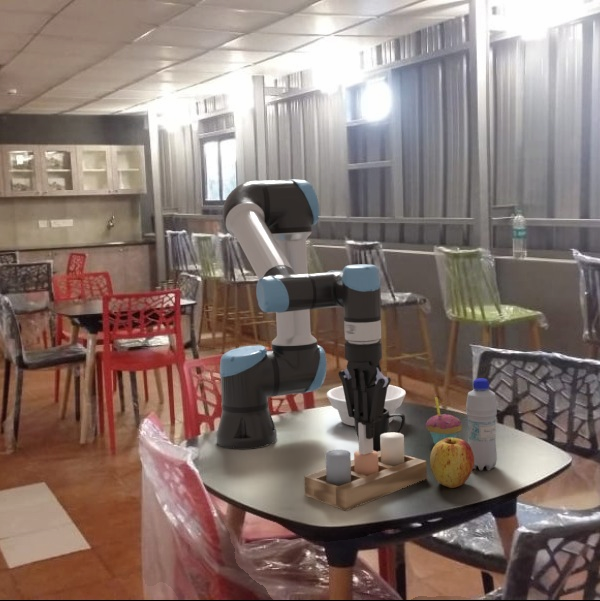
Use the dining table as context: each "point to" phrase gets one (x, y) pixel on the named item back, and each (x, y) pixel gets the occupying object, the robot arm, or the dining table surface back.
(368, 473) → the peach cylinder
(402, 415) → the mug
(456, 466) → the apple
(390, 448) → the white cylinder
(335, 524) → the dining table surface
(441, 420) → the cupcake
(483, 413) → the bottle
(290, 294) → the robot arm
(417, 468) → the wooden peg tray
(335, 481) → the blue-grey cylinder
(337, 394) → the bowl
